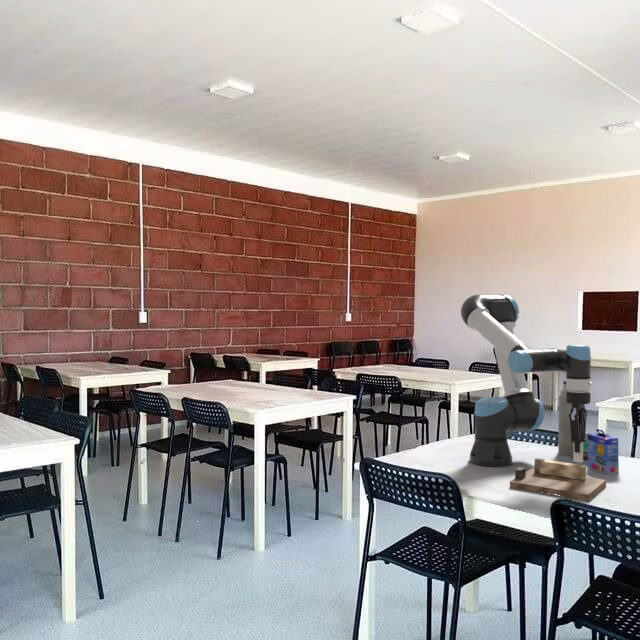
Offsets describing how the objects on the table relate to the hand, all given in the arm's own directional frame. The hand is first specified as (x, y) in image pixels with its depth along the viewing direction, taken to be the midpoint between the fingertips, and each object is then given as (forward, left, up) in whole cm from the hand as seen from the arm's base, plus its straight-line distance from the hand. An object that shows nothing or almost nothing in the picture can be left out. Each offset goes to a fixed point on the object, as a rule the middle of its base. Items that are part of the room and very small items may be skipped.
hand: (578, 461), depth 221 cm
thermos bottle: (-13, +35, -6) cm, 38 cm away
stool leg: (-4, -8, -4) cm, 9 cm away
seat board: (-2, -14, -6) cm, 15 cm away
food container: (-3, +29, -6) cm, 30 cm away
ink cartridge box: (+4, +16, -6) cm, 18 cm away
